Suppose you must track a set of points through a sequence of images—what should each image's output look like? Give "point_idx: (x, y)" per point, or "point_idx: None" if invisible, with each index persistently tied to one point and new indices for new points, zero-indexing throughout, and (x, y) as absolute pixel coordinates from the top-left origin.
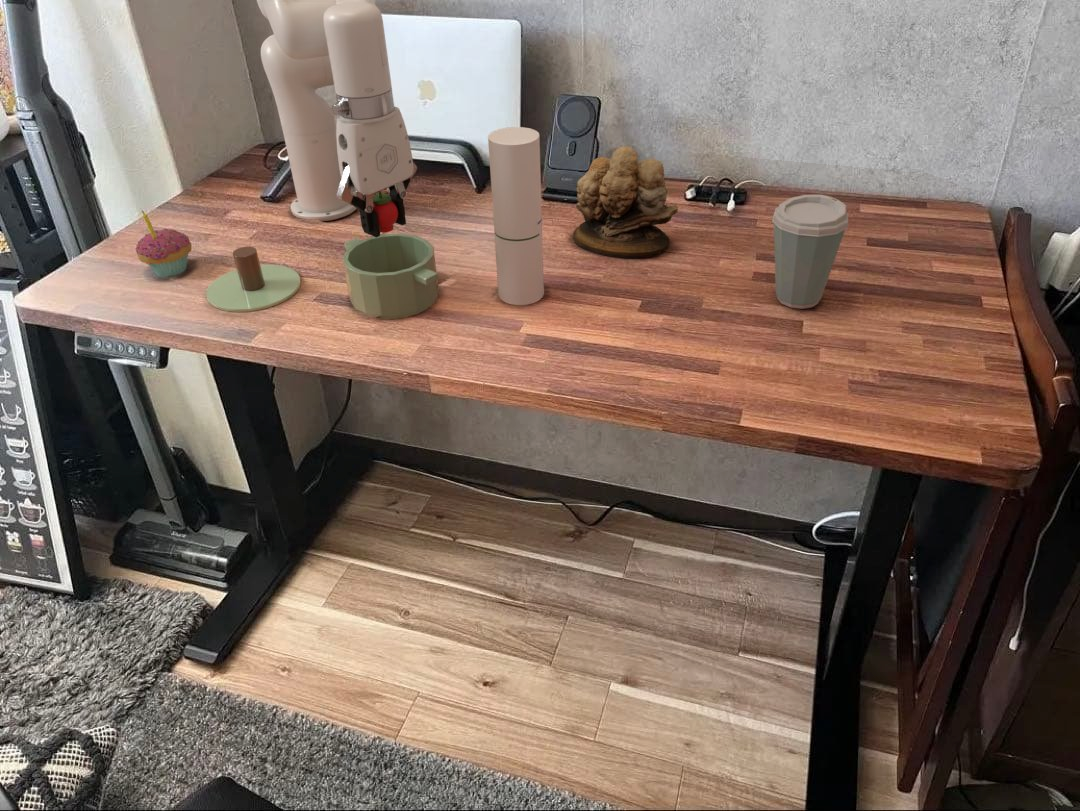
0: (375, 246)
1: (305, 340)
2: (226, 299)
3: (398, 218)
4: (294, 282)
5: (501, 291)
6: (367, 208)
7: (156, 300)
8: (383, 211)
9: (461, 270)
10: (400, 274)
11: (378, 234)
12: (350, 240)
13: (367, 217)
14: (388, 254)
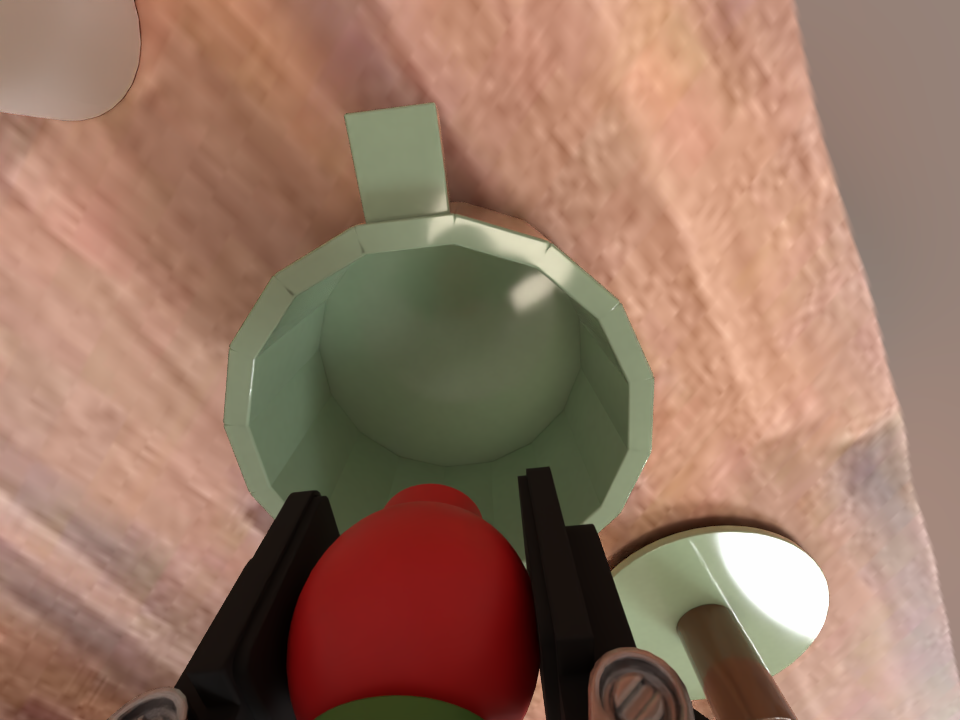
0: None
1: (802, 328)
2: (793, 612)
3: (319, 545)
4: (628, 580)
5: (105, 11)
6: (665, 710)
7: (849, 694)
8: (466, 613)
9: (180, 342)
10: (517, 232)
11: (539, 473)
12: None
13: (620, 619)
14: (380, 503)
